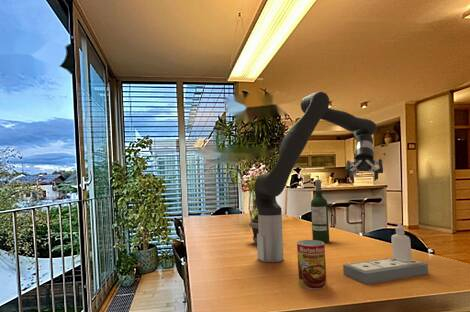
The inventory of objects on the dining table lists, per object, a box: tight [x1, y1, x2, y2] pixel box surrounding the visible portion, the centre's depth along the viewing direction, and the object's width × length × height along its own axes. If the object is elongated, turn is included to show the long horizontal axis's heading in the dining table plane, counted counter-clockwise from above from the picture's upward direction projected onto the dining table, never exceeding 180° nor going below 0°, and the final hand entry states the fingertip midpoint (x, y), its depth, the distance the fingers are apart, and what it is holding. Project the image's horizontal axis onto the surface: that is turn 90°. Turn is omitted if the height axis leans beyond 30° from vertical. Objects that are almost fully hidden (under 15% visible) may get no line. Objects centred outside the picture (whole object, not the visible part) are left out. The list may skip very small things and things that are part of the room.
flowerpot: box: [248, 212, 259, 245], centre depth 147 cm, size 14×15×20 cm
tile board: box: [342, 257, 429, 285], centre depth 96 cm, size 24×10×3 cm, turn 108°
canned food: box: [296, 239, 328, 290], centre depth 89 cm, size 8×8×12 cm
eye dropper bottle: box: [391, 222, 413, 262], centre depth 99 cm, size 4×6×12 cm
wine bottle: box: [310, 179, 330, 244], centre depth 148 cm, size 8×8×30 cm
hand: (363, 179), depth 121 cm, fingers open, 8 cm apart
